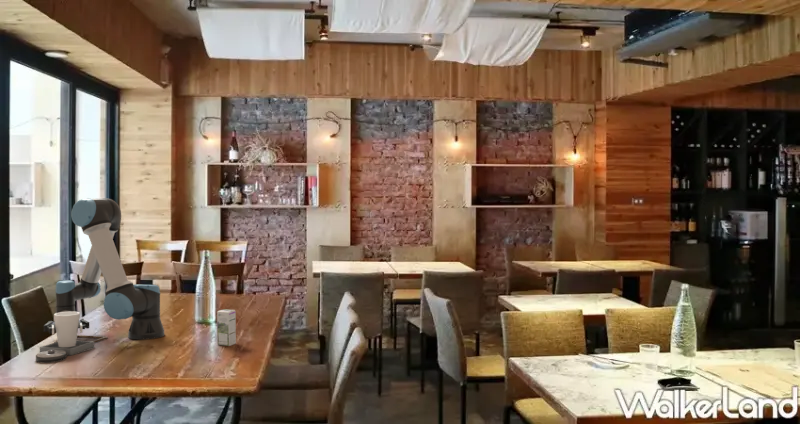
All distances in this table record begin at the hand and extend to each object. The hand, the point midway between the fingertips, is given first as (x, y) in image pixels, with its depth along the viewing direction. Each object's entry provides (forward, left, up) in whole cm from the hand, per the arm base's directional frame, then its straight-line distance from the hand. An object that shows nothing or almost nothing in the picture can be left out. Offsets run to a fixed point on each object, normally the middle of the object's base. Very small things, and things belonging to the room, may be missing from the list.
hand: (67, 330), depth 280 cm
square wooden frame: (+9, -19, -9) cm, 23 cm away
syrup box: (-54, -29, -9) cm, 62 cm away
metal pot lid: (-1, +11, -9) cm, 14 cm away
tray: (+3, -3, -9) cm, 10 cm away
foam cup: (+3, -3, -7) cm, 8 cm away
